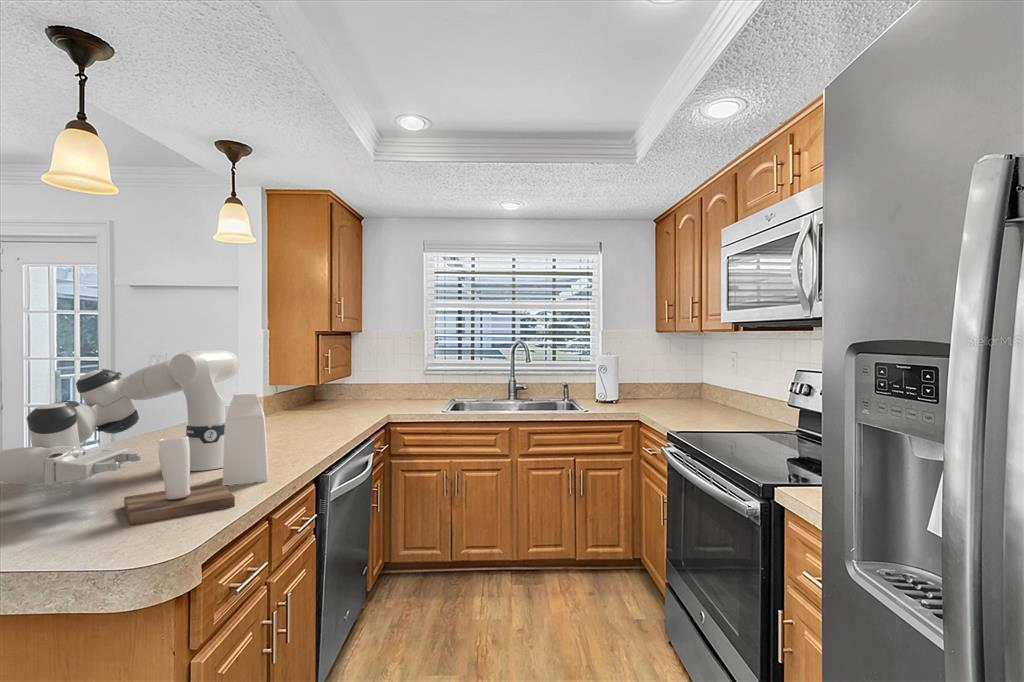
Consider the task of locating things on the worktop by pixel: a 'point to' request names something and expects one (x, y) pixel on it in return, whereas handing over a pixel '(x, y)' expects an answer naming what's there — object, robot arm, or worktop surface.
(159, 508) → the walnut board
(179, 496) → the drinking glass
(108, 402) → the robot arm
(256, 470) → the milk
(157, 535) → the worktop surface
